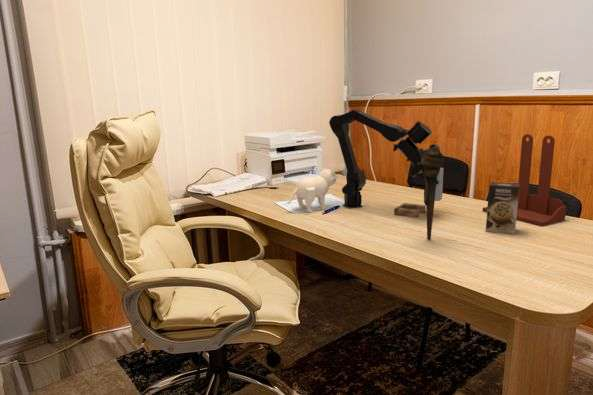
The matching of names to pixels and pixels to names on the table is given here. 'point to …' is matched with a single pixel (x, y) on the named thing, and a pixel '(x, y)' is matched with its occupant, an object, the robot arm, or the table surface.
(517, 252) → the table surface
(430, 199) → the decorative torch
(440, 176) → the peg
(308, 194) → the cat figurine
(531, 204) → the hanging shelf
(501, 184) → the coffee box
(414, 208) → the slot block
